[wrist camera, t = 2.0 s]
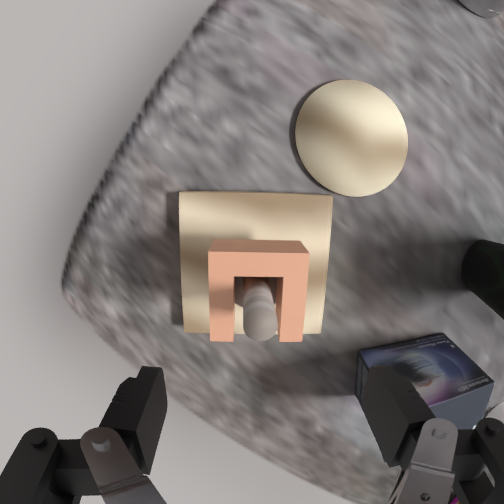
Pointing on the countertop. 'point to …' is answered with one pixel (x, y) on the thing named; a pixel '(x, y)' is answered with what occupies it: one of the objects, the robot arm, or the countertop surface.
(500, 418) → the capsule
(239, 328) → the peg stand
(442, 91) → the countertop surface
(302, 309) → the c link
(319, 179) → the coaster
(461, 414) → the small box
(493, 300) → the cup
